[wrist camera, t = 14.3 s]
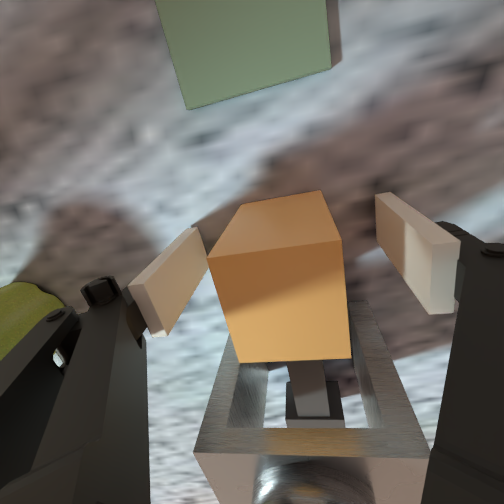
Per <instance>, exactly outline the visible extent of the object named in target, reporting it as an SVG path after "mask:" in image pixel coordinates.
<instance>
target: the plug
mask: <svg viewBox="0 0 504 504" xmlns="http://www.w3.org/2000/svg"><path fill="white" fill-rule="evenodd" d="M206 259H207V262H208V266H209V269H210V272H211V275H212V278H213V281H214V285H215V288H216V291H217V294H218V297H219V300H220V304H221V307H222V310H223V313H224V316H225V319H226V323H227V326H228V329H229V332H230V335H231V338H232V341H233V345H234V348H235V351H236V354H237V357H238V360H239V363H252V362H276V361H286V363H287V368H288V372H289V377H290V382H288V383H286V417H285V420H286V424H287V428H345V421H344V415H343V409H342V403H341V397H340V392H339V386H338V381H328V382H326V380H325V373H324V366H323V359H346V358H351V348H350V336H349V324H348V311H347V299H346V286H345V274H344V262H343V249H342V239H341V237H340V235H339V232H338V230H337V228H336V225H335V223H334V221H333V218H332V216H331V213H330V211H329V209H328V206H327V204H326V202H325V199H324V197H323V195H322V192H321V190H318V191H312V192H307V193H301V194H295V195H290V196H284V197H279V198H273V199H267V200H262V201H256V202H251V203H245V204H241V206H240V207H239V209H238V210H237V212H236V213H235V215H234V216H233V218H232V220H231V221H230V223H229V224H228V226H227V227H226V229H225V230H224V232H223V233H222V235H221V236H220V238H219V239H218V241H217V242H216V244H215V246H214V247H213V249H212V250H211V252H210V253H209V255H208V256H207V258H206Z"/></svg>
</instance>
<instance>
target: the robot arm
mask: <svg viewBox="0 0 504 504" xmlns="http://www.w3.org/2000/svg"><path fill="white" fill-rule="evenodd" d="M375 213H376V237H377V242H378V244H379V245H380V246H381V248H382V249H383V251H384V252H385V254H386V255H387V256H388V258H389V259H390V261H391V262H392V263H393V265H394V266H395V268H396V269H397V270H398V272H399V273H400V275H401V276H402V277H403V279H404V280H405V282H406V283H407V284H408V286H409V287H410V289H411V290H412V292H413V293H414V294H415V296H416V297H417V299H418V300H419V301H420V303H421V304H422V306H423V307H424V308H425V310H426V311H427V313H428V314H429V315H434V314H446V313H454V305H455V299H456V300H457V301H458V302H459V308H458V313H457V319H456V324H455V330H454V336H453V341H452V347H451V352H450V358H449V363H448V369H447V375H446V380H445V386H444V391H443V397H442V402H441V408H440V414H439V419H438V425H437V430H436V436H435V441H434V446H433V448H432V449H431V453H430V457H429V461H428V466H427V472H426V477H425V482H424V488H423V493H422V498H421V504H504V244H501V243H484V242H483V241H481V240H479V239H478V238H476V237H474V236H473V235H470V234H469V233H468V232H466V231H465V230H463V229H462V228H460V227H458V226H457V225H455V224H451V223H448V222H444V221H441V222H433V221H431V220H430V219H428V218H427V217H426V216H424V215H423V214H421V213H420V212H418V211H417V210H415V209H414V208H413V207H411V206H410V205H408V204H407V203H405V202H404V201H403V200H401V199H400V198H398V197H397V196H395V195H394V194H392V193H391V192H387V193H381V194H376V195H375ZM206 258H207V254H206V251H205V248H204V245H203V242H202V239H201V236H200V233H199V230H198V227H194V228H188V229H186V230H185V231H184V232H183V233H182V234H180V235H179V236H178V237H177V238H176V239H175V240H174V241H173V242H172V243H171V244H170V245H169V246H168V247H167V248H166V249H165V250H164V251H163V252H162V253H161V254H160V255H159V256H158V257H157V258H156V259H155V260H154V261H152V262H151V263H150V264H149V265H148V266H147V267H146V268H145V269H144V270H143V271H142V272H141V273H140V274H139V275H138V276H137V277H136V278H135V279H134V280H133V281H132V282H131V283H130V284H129V285H128V286H127V287H126V288H125V289H124V290H123V291H122V292H121V290H120V288H119V286H118V284H117V282H116V280H115V278H114V277H113V276H105V277H102V278H99V279H96V280H94V281H92V282H90V283H88V284H87V285H85V286H84V287H83V288H82V289H81V290H80V291H81V293H82V294H83V296H84V298H85V300H86V301H87V303H88V305H89V307H90V308H89V310H88V312H86V313H82V314H79V315H77V314H76V312H75V310H74V309H73V307H71V306H68V307H63V308H60V309H59V308H58V309H56V310H53V311H51V312H50V313H49V314H47V315H46V316H45V317H43V318H42V319H41V320H40V321H39V322H38V323H37V324H36V325H35V326H34V327H33V328H32V329H31V330H30V331H29V332H28V333H27V334H26V335H25V336H24V337H23V338H22V339H21V340H20V341H19V342H18V343H17V344H16V345H15V346H14V347H13V348H12V349H11V351H10V352H9V353H8V354H7V355H6V356H5V357H4V358H3V359H2V360H1V361H0V504H151V502H150V469H149V431H148V393H147V355H146V340H145V337H144V336H143V334H142V333H143V332H144V331H145V329H146V328H147V327H148V330H149V332H150V334H151V336H152V337H164V336H168V335H169V333H170V331H171V330H172V328H173V326H174V325H175V323H176V321H177V320H178V318H179V316H180V315H181V313H182V311H183V310H184V308H185V306H186V305H187V303H188V301H189V300H190V298H191V296H192V295H193V293H194V291H195V290H196V288H197V286H198V285H199V283H200V281H201V280H202V278H203V276H204V275H205V273H206V271H207V270H208V268H209V266H208V262H207V259H206ZM54 352H56V353H57V355H58V356H59V357H60V359H61V360H62V362H63V364H62V365H61V366H60V367H58V366H57V365H56V364H55V362H54V361H53V354H54Z"/></svg>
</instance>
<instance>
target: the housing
mask: <svg viewBox="0 0 504 504" xmlns="http://www.w3.org/2000/svg"><path fill="white" fill-rule="evenodd" d="M348 312H349V322H350V332H351V342H352V352H353V363H354V370H355V374H356V378H357V382H358V386H359V390H360V394H361V398H362V402H363V406H364V410H365V414H366V418H367V422H368V426H369V428H263V423H264V413H265V403H266V393H267V383H268V373H269V372H268V368H267V364H266V362H252V363H239V360H238V357H237V354H236V351H235V348H234V345H233V341H232V338H231V335H230V333H229V336H228V340H227V343H226V346H225V349H224V353H223V356H222V359H221V363H220V366H219V369H218V372H217V376H216V379H215V382H214V385H213V389H212V392H211V395H210V398H209V402H208V405H207V408H206V411H205V415H204V418H203V421H202V424H201V428H200V431H199V434H198V438H197V441H196V444H195V447H194V451H193V454H194V456H195V458H196V459H197V461H198V463H199V465H200V467H201V469H202V471H203V473H204V474H205V476H206V478H207V480H208V482H209V484H210V486H211V488H212V489H213V491H214V493H215V495H216V497H217V499H218V501H219V503H220V504H421V498H422V493H423V488H424V482H425V477H426V472H427V466H428V461H429V457H430V453H431V451H430V449H429V446H428V444H427V442H426V439H425V437H424V434H423V432H422V430H421V427H420V425H419V423H418V420H417V418H416V415H415V413H414V411H413V408H412V406H411V404H410V401H409V399H408V397H407V394H406V392H405V389H404V387H403V385H402V382H401V380H400V378H399V375H398V373H397V370H396V368H395V366H394V363H393V361H392V359H391V356H390V354H389V351H388V349H387V347H386V344H385V342H384V340H383V337H382V335H381V332H380V330H379V328H378V325H377V323H376V321H375V318H374V316H373V313H372V311H371V309H370V306H369V304H368V302H367V300H366V301H356V302H348Z"/></svg>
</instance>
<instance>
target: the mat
mask: <svg viewBox="0 0 504 504" xmlns="http://www.w3.org/2000/svg"><path fill="white" fill-rule="evenodd" d="M155 3H156V7H157V10H158V13H159V17H160V20H161V24H162V27H163V31H164V34H165V37H166V41H167V44H168V48H169V51H170V55H171V58H172V61H173V65H174V68H175V72H176V75H177V78H178V82H179V85H180V89H181V92H182V96H183V99H184V102H185V106H186V109H187V110H192V109H196V108H199V107H203V106H206V105H209V104H213V103H216V102H220V101H223V100H227V99H230V98H234V97H237V96H240V95H244V94H247V93H251V92H254V91H258V90H261V89H264V88H268V87H271V86H275V85H278V84H282V83H285V82H289V81H292V80H295V79H299V78H302V77H306V76H309V75H313V74H316V73H320V72H323V71H326V70H330V69H331V56H330V45H329V33H328V22H327V11H326V0H155Z"/></svg>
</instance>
